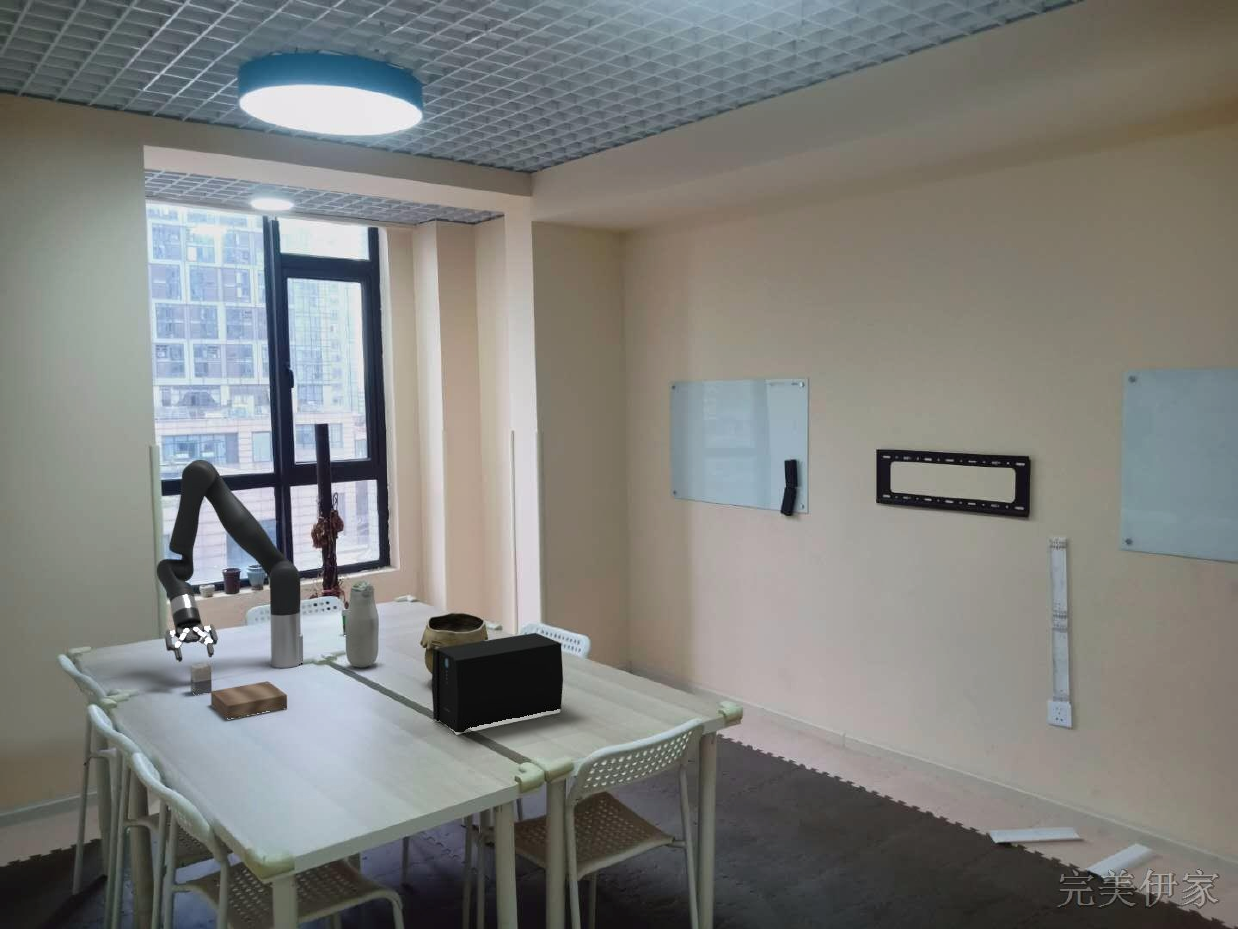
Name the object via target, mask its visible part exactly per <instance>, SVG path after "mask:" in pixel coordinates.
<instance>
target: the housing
mask: <svg viewBox="0 0 1238 929" xmlns="http://www.w3.org/2000/svg"><path fill="white" fill-rule="evenodd" d="M189 666H190V667H189V668H190V693H192V694H193V693H194V694H195V695H196V696H199V695H198V694H202V695H204V694H203V693H208V694H211V691H213V689H212V686H213V685H212V665H210V664H209V663H208V662H204V663H198V664H190V665H189ZM194 694H193V695H194ZM195 695H194V696H195Z"/></svg>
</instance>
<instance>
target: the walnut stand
mask: <svg viewBox="0 0 1238 929" xmlns="http://www.w3.org/2000/svg"><path fill="white" fill-rule="evenodd" d="M210 697H211V698H210V702H211V703H210V704H211V706H212V705H213V706H214V707H215V708H216V709H215V708H214V707H213V706H212V707H213V708H214V709H215V710H216V711H217V712H218V711H219V712H220V713H219V712H218V713H219V714H220V715H222V716H223V718H225V719H226V718H228V719H231V718H238V719H240V718H239V717H243V718H245V717H244V716H247V715H252V714H257V713H262V712H266V711H273V712H276V711H275V710H279V711H281V710H280V709H284V708H287V709H288V695H287V694H286V693H285V692H284V691H283V690H281V689H279V688H278V687H277V686H275V685H274V684H273V683H271V682H270V681H268V680H267V681H263V682H257V683H256V682H255V683H250V684H245V685H239V686H233V687H228V688H227V687H226V688H222V689H216V690H212V691H211V693H210ZM284 710H285V709H284Z"/></svg>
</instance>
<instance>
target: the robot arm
mask: <svg viewBox="0 0 1238 929" xmlns="http://www.w3.org/2000/svg"><path fill="white" fill-rule="evenodd" d="M180 484H181V485H180V497H179V504H178V505H179V506H178V510H177V514H176V517H175V522H174V524H173V529H172V533H171V536H170V542H169V544H168V545H169V546H168V549H169V550H170V552H172V553H173V554H177V555H180V556H181V559H180V558H179V559H177V558H176V559H175V558H163V559H162V560H160V561H159V562H158V564H157V566H156V575H157V578H158V580H159V582H160V583H161V585H162V587H163V589H164V590H165V591H166V593H167V594H168V595H167V596H168V599H169V604H170V614H171V615H170V616H171V618H172V621H173V625H174V629H175V630H170V629H167V630H166V631H165V634H164V639H165V640H164V641H165V647H166V651H167V652H171V651H172V652H173V653H174V656H175V661H178V662H179V663H181V662H182V661H183V654H182V650H181V647H182V646H183V644H184V643H185V644H190V643H197V642H199V643H200V644H201V645H204V646H205V647H206V650H207V654H208V655H207V656H208V658H212V657H213V656H214V654H215V649H214V646H215V645H217V643H218V641H219V637H218V634H217V632H216V628H215V624H212V623H210V625H208V626H204V625H203V622H202V619H201V615H200V610H199V606H198V603H197V601H196V598H195V594H194V589H193V587H192V585H191V584H190V583H189V582H188V581H190V580H191V578H192V577H193V576H194V575H193V574H194V571H195V570H194V569H195V568H194V547H195V543H196V539H197V534H198V529H199V524H200V523H199V521H200V512H201V508H202V504H203V501H204V498H206V499H207V501H208V502H209V503H210V504H211V506H212V508H213V510H214V512H215V514H216V516H217V518H218V520H219V522H220V523H221V526H222V527H223V529H224V530H225V531H226V533H227V534H228V535H229V536H230V538H232V540H234V542H235V543H236V544H237V545H238V546H239V547H240V548H241V549H242V550H244V552H246V553H247V554H248V555H250V557H252V558H253V559H254V560H255V562H257V563H258V564H259V566H260V567H261V569H262V570H263V571H264V573H265V574H266V576H267V577H268V579H269V593H270V595H269V597H270V598H269V599H270V600H269V604H270V605H269V608H270V610H269V614H270V652H271V653H270V656H271V658H270V664H271V667H273V668H276V669H277V668H278V669H287V668H294V667H297V666H299V664H300V665H302V664H301V663H302V662H303V663H304V636H303V634H302V633H301V630H302V629H301V604H302V603H301V576H300V572H299V569H298V568H297V567H296V566H295V564H293V563H292V561H291V560H289V559H288V558H287V557H286V556H285V555H284V554H283V553H282V552H281V551H280V550H279V549H278V547H276V545H275V544H274V543H273V541H272V539H271V538H270V536H269V535H268V534H267V532H266V531H265V529H264V528H263V526H262V525H261V524H260V522H259V521H258V520H257V519H256V518H255V516H254V515H253V514H252V512H251V511H250V510H249V509H248V508H247V506H245V505H244V503H242V502H241V500H240V499H239V498H238V497H237V495H235V494H234V493H233V492H232V491H231V489H230V488H229V487H228V485H227V484H226V482H225V481H224V479H223V477H221V475H220V473H219V472H218V470H217V469H216V467H215V466H214V465H213V463H211V462H210V461H208V460H205V459H196V460H194V461H191V462H190V463H189V464H188V465H186V466H185V468H183V470H182V473H181V483H180ZM205 632H206V633H207V634H208V635H209V637H208V635H207V634H206V633H205ZM174 636H175V638H177V642H175V644H173V640H172V639H173V637H174Z"/></svg>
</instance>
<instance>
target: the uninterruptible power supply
mask: <svg viewBox="0 0 1238 929" xmlns="http://www.w3.org/2000/svg"><path fill="white" fill-rule="evenodd" d="M563 685H564V668H563V653H562V643H561V642H559V641H557V640H554V639H552V638H550V637H547V636H545V635H543V634H540V633H538V632H534V633H526V634H520V635H519V634H518V635H513V636H508V637H507V636H506V637H499V638H494V639H488V640H485V641H480V642H474V643H468V644H461V645H455V646H448V647H442V648H436V649H433V668H432V674H431V696H432V712H433V713H432V714H433V715H432V716H433V720H434V719H436V720H437V721H439V720H440V721H441V722H442V723H443V724H446V725H447V726H448V727H450V728H451V729H453V730H454V731H455V732H464V731H465V730H466V729H468V728H470V727H471V728H472V727H477V726H479V725H484V724H491V723H493V722H498V721H502V720H506V719H512V718H520V717H524V716H527V715H528V716H529V715H533V714H537V713H541V712H546V711H554V710H557V709H561V710H562V700H563V699H562V698H563V687H564V686H563ZM443 724H442V725H443Z"/></svg>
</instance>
